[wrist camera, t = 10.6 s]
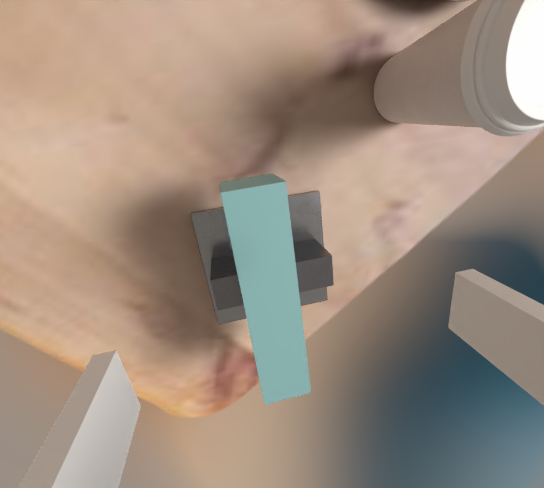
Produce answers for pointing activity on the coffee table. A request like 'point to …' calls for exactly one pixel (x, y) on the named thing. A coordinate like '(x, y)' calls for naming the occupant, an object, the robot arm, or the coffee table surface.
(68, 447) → the robot arm
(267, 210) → the bar
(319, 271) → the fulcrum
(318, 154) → the coffee table surface
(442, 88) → the coffee cup
